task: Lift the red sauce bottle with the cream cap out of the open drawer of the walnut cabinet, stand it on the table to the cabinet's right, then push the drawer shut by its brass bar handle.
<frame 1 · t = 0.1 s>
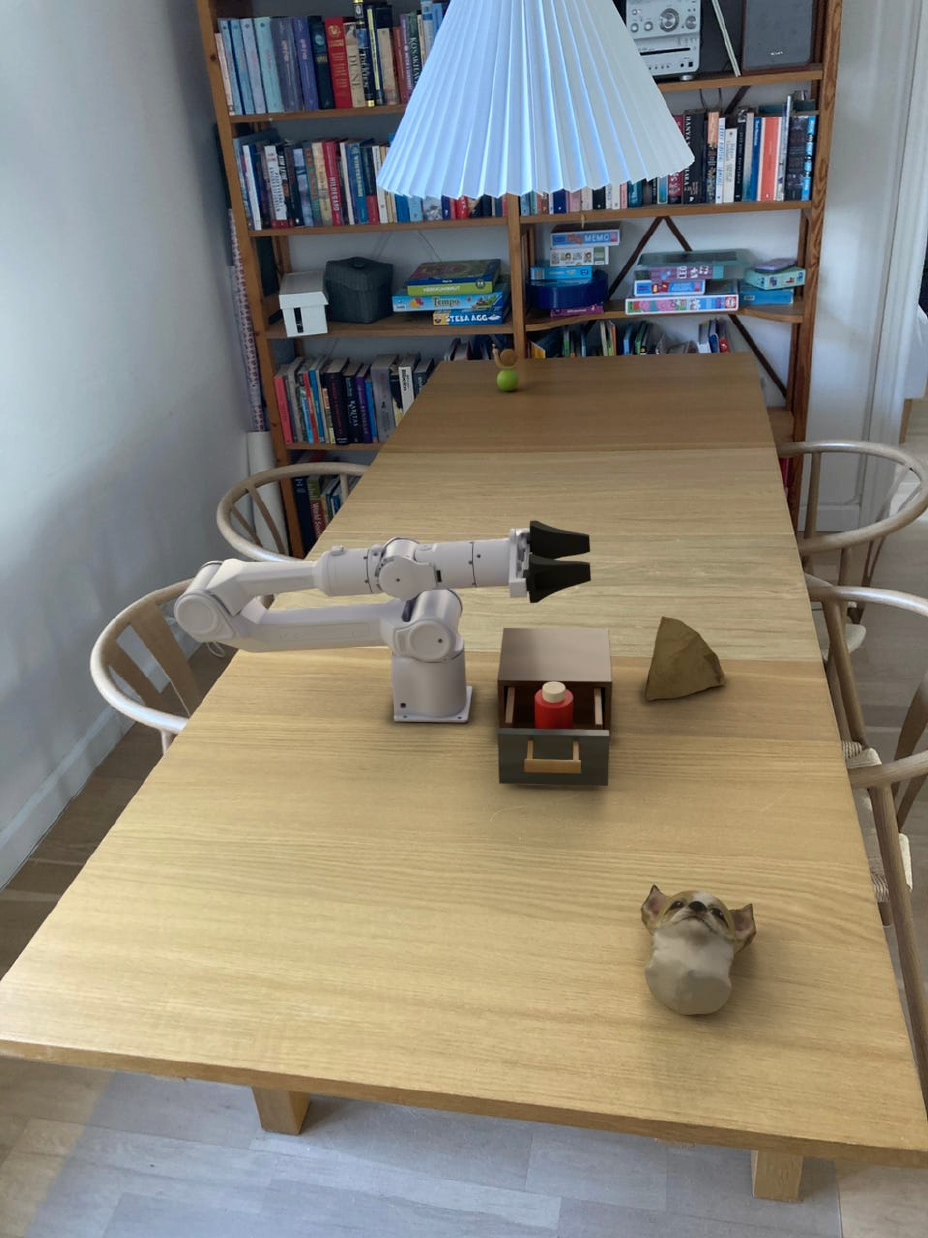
hand: (590, 557, 120), 22 cm above the table, tool horizontal, fingers open, 7 cm apart
sauce bottle: (553, 747, 120), point 2 cm above the table, touching drawer
drawer: (553, 743, 117), point 4 cm above the table, slide at 8.5 cm, touching sauce bottle
rock: (685, 689, 133), on the table
ceramic sculpture: (691, 969, 93), on the table
cabinet: (555, 712, 130), on the table
snail figurine: (506, 391, 254), on the table
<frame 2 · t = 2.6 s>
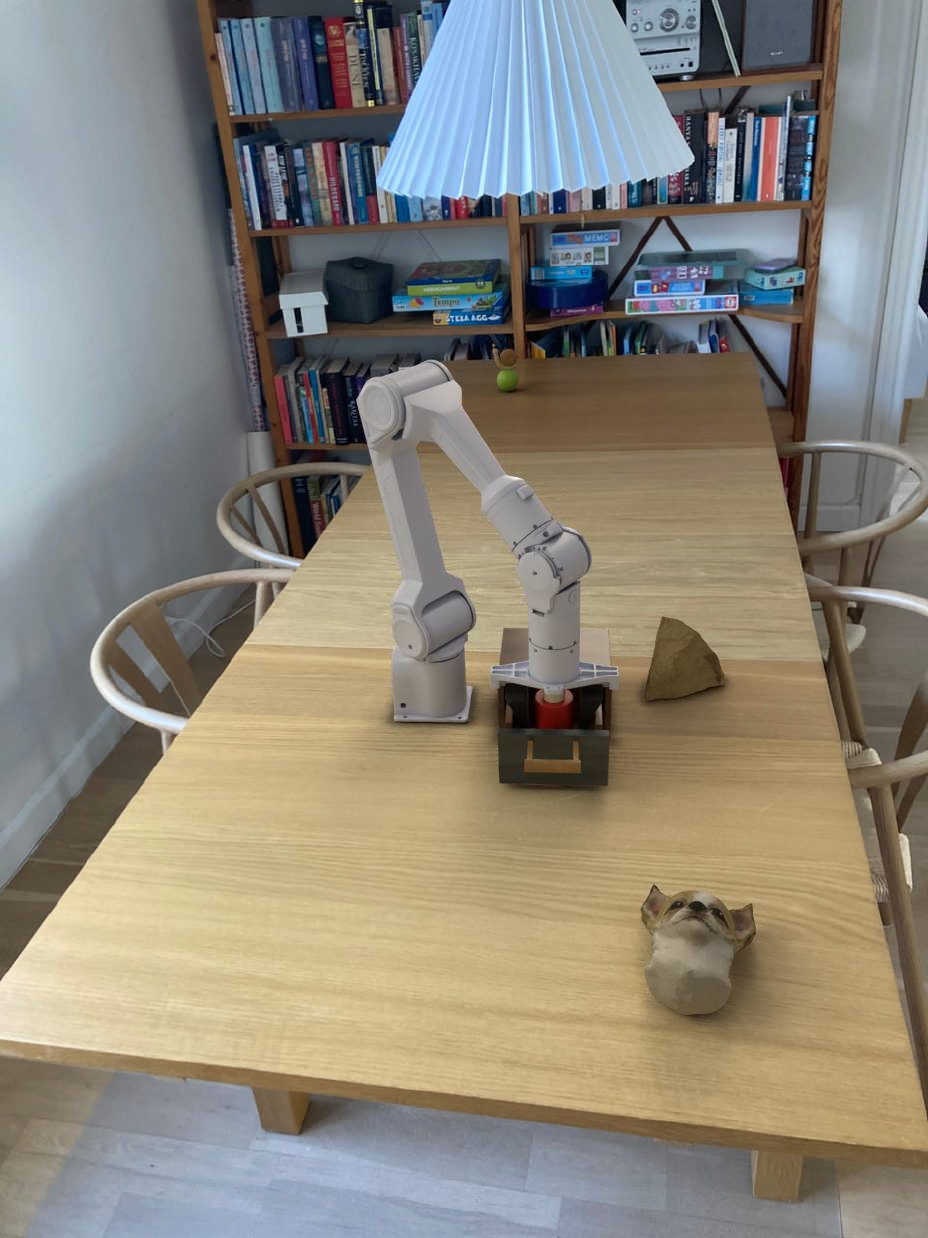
hand: (554, 736, 119), 4 cm above the table, tool pointing down, fingers closed on drawer, 6 cm apart
drawer: (553, 743, 117), point 4 cm above the table, slide at 8.5 cm, touching gripper, sauce bottle
everything else where it was.
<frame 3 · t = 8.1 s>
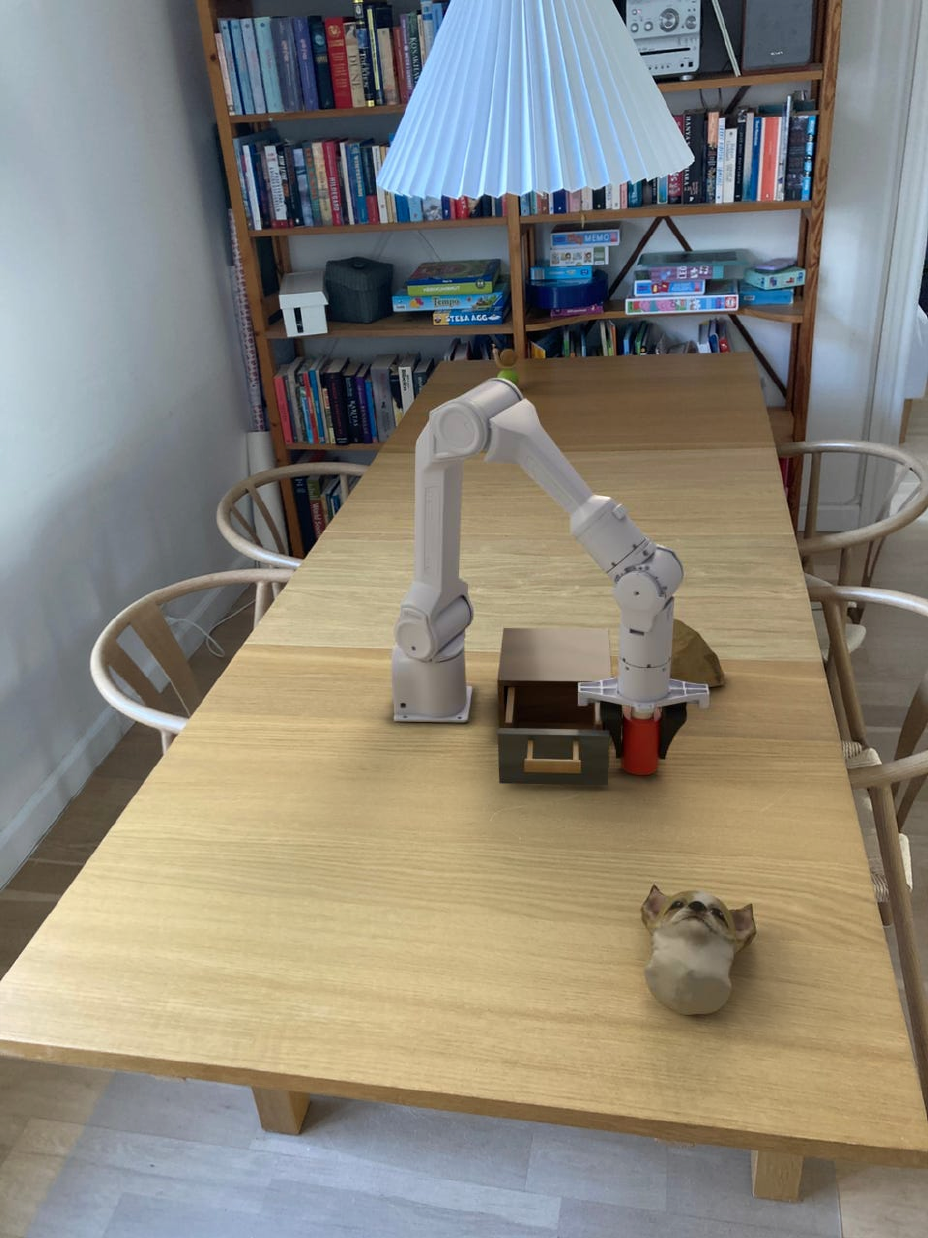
hand: (639, 754, 118), 2 cm above the table, tool pointing down, fingers closed on sauce bottle, 4 cm apart
sauce bottle: (639, 763, 119), on the table, touching gripper
drawer: (553, 743, 117), point 4 cm above the table, slide at 8.5 cm, touching gripper
everything else where it was.
when the fingers open (3 cm above the table, at t = 16.1 s): sauce bottle drops 2 cm, on the table.
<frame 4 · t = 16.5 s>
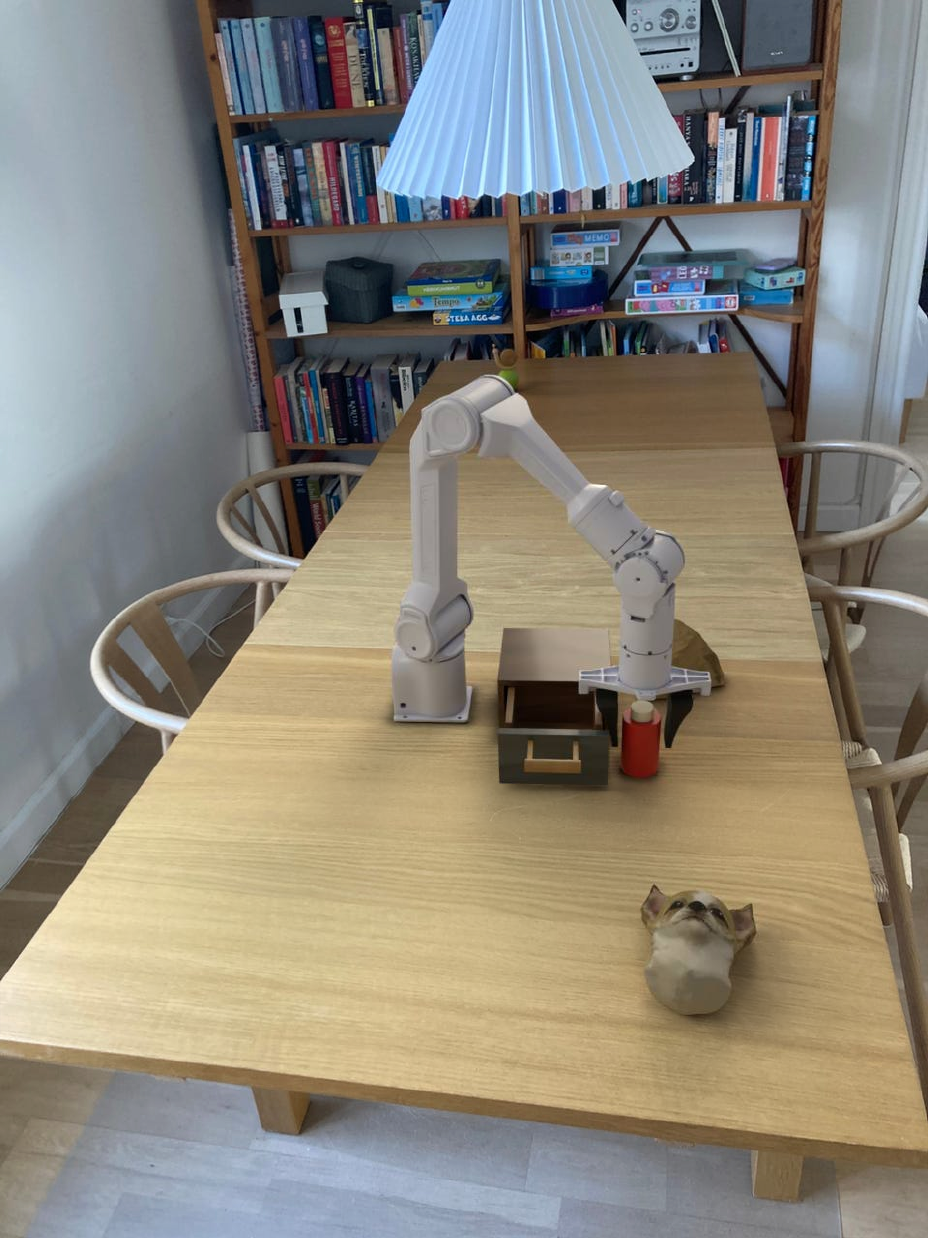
hand: (641, 742, 118), 3 cm above the table, tool pointing down, fingers open, 5 cm apart
sauce bottle: (639, 766, 119), on the table
everything else where it was.
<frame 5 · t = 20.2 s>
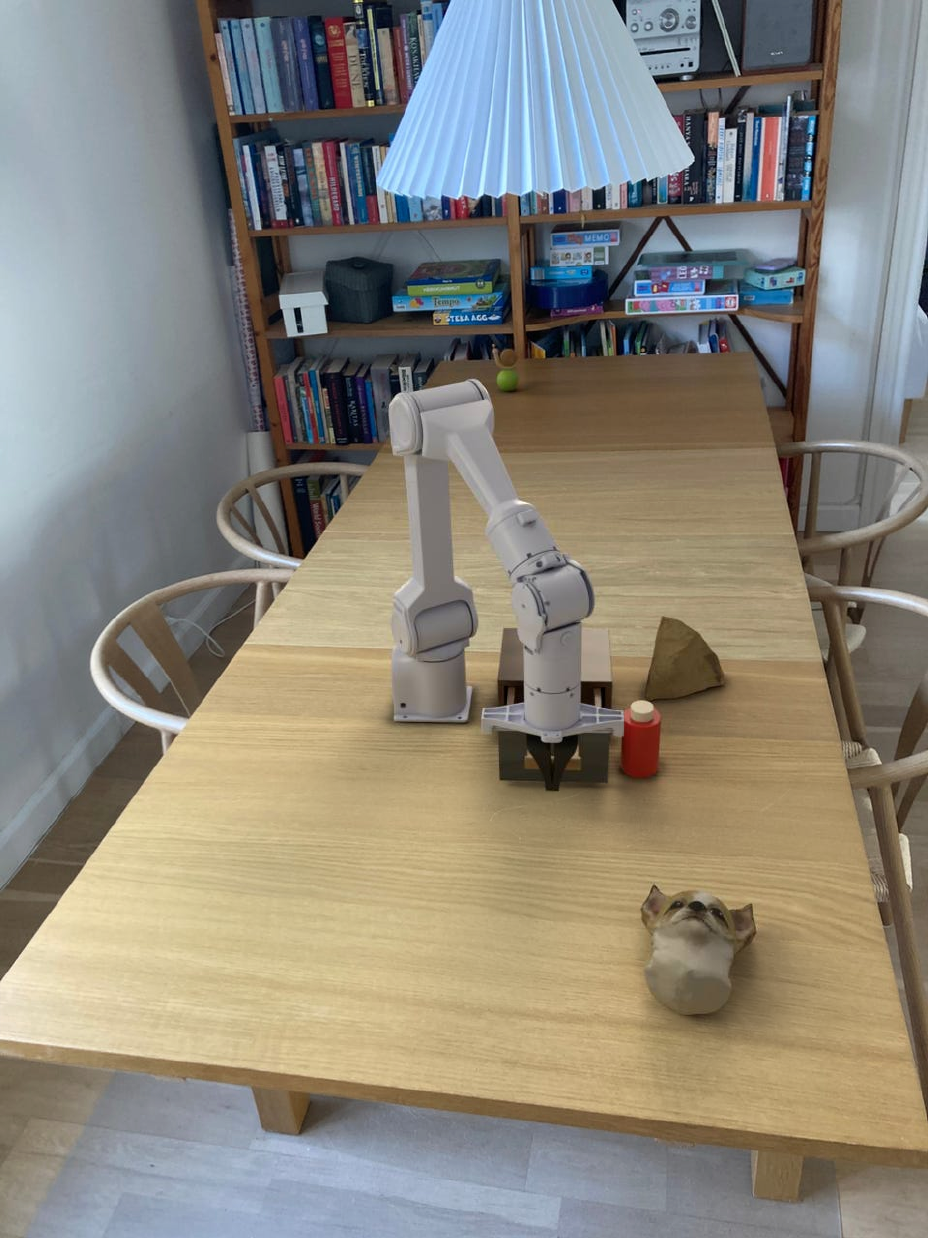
hand: (552, 785, 108), 5 cm above the table, tool pointing down, fingers closed, pressing on drawer
drawer: (553, 740, 117), point 4 cm above the table, slide at 7.9 cm, touching gripper
everything else where it was.
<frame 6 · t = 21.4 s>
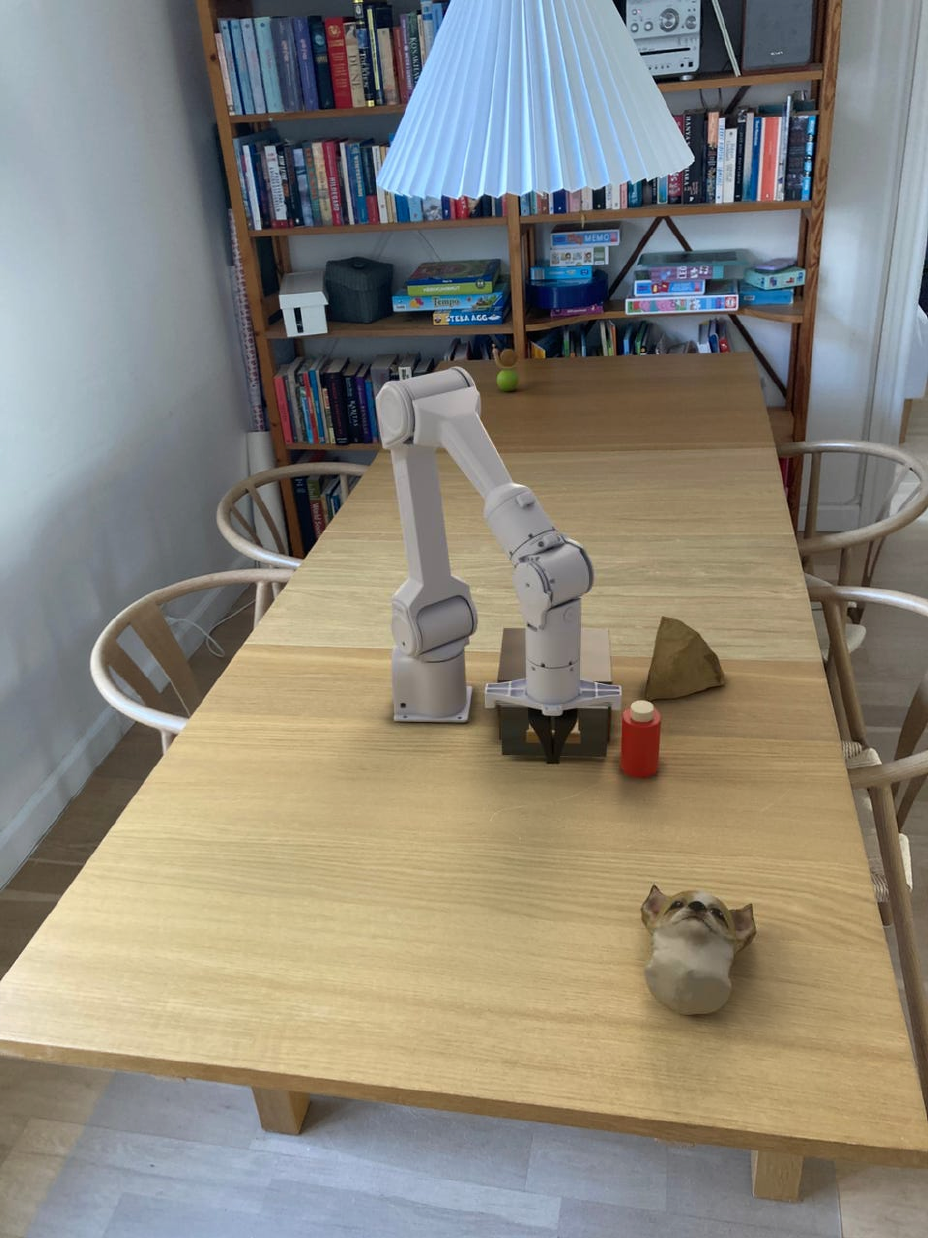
hand: (552, 758, 113), 5 cm above the table, tool pointing down, fingers closed, pressing on drawer
drawer: (554, 716, 121), point 4 cm above the table, slide at 3.1 cm, touching gripper
everything else where it was.
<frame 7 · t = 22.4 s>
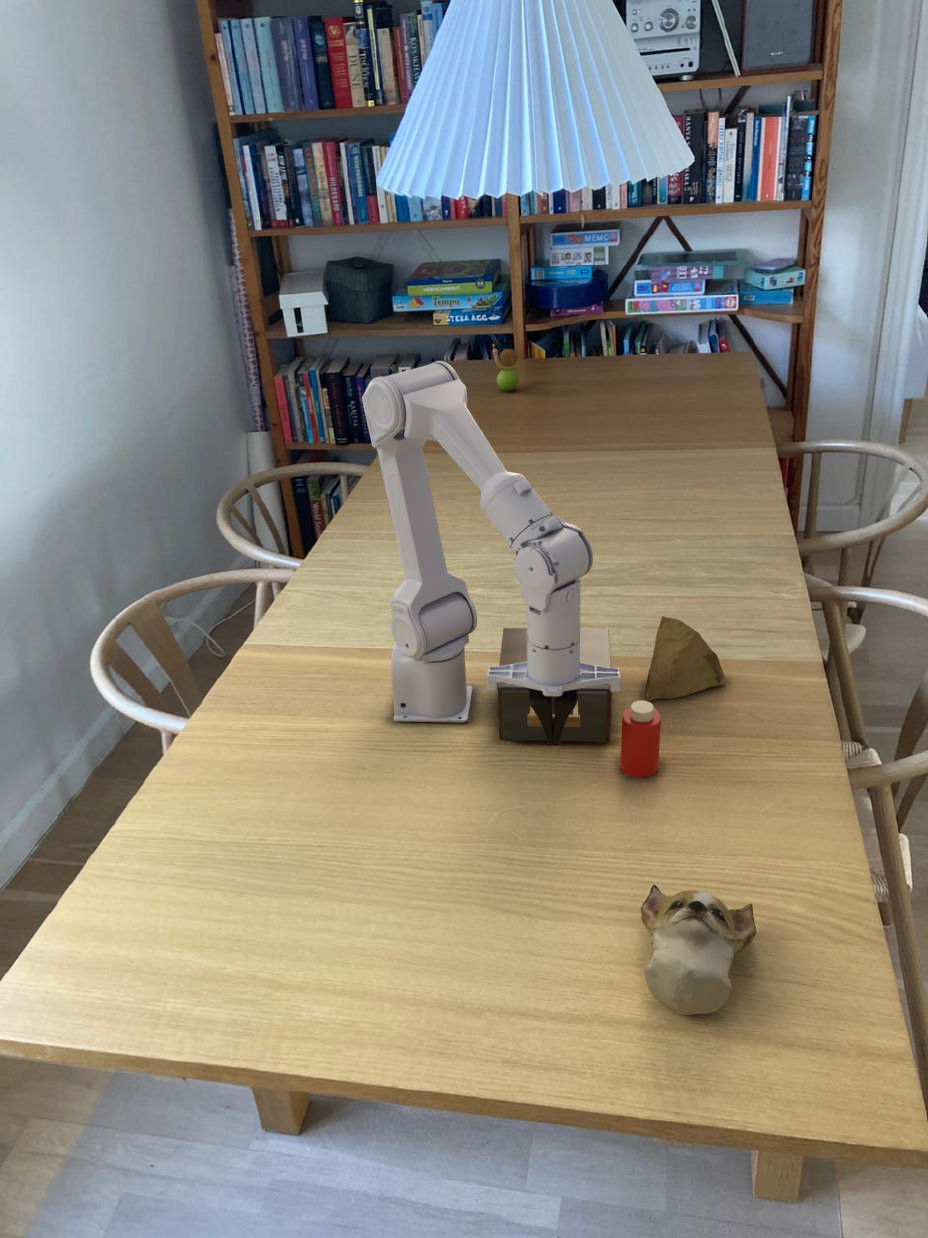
hand: (553, 740, 115), 5 cm above the table, tool pointing down, fingers closed, pressing on drawer
drawer: (554, 701, 124), point 4 cm above the table, slide at 0.0 cm, touching cabinet, gripper
everything else where it was.
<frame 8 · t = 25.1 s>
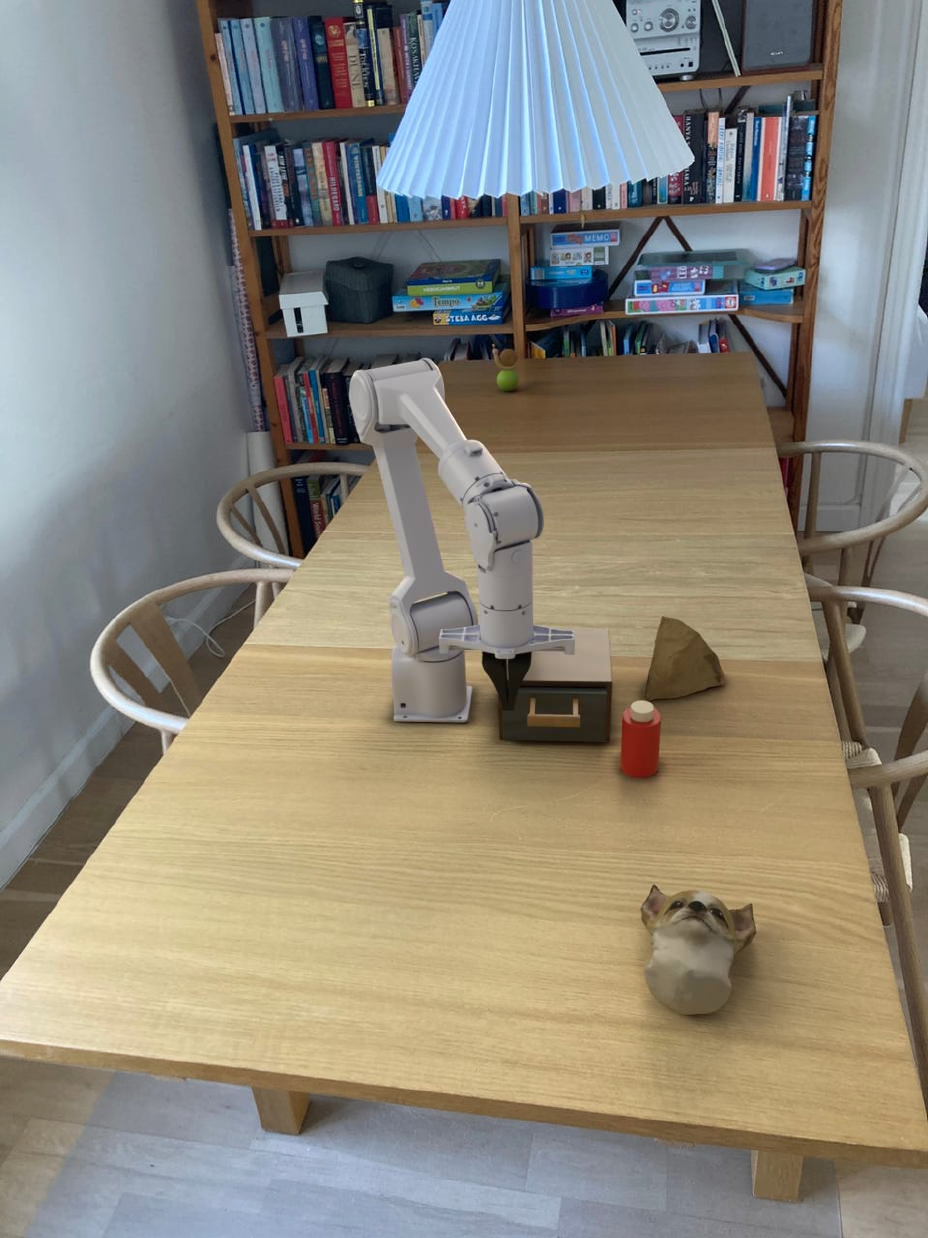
hand: (508, 705, 113), 10 cm above the table, tool pointing down, fingers closed
drawer: (554, 701, 124), point 4 cm above the table, slide at 0.0 cm, touching cabinet
everything else where it was.
at the end: sauce bottle inside the target area (0.2 cm from its centre), on the table; sauce bottle tilted 0°; drawer slide at 0.0 cm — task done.
